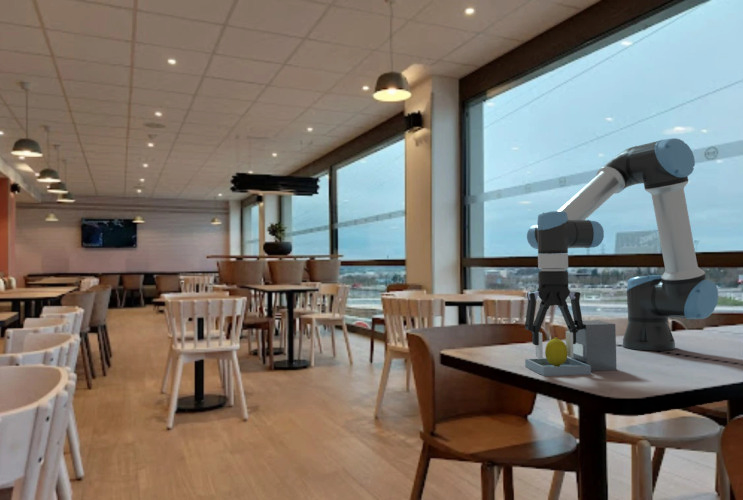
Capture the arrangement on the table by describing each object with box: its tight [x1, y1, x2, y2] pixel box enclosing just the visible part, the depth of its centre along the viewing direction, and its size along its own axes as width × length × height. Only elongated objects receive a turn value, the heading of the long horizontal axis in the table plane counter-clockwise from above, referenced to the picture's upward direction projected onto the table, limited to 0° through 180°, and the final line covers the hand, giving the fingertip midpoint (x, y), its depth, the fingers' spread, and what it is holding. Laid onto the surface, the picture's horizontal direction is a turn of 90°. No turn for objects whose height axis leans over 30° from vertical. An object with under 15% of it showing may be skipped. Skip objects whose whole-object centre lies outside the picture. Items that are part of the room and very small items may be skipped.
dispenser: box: [572, 319, 617, 372], centre depth 147 cm, size 9×9×12 cm
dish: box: [524, 356, 592, 377], centre depth 144 cm, size 12×12×2 cm
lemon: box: [544, 337, 568, 367], centre depth 144 cm, size 6×6×8 cm
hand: (554, 357), depth 144 cm, fingers open, 8 cm apart
